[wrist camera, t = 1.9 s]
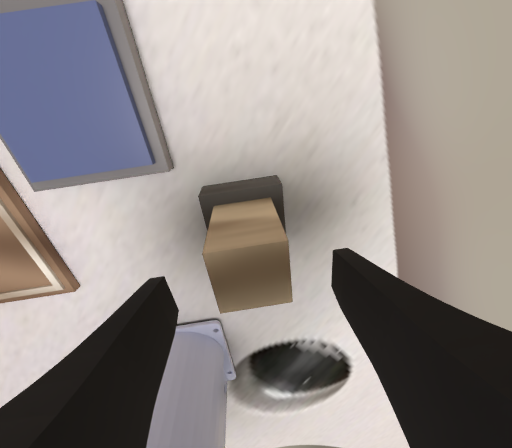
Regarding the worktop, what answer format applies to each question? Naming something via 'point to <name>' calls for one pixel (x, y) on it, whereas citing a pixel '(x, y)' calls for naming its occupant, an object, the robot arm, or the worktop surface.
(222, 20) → the worktop surface
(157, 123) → the ink pad
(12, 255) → the board
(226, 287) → the stamp
